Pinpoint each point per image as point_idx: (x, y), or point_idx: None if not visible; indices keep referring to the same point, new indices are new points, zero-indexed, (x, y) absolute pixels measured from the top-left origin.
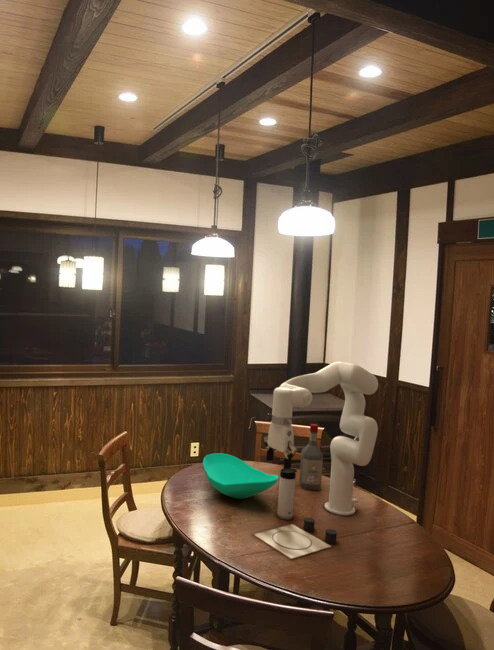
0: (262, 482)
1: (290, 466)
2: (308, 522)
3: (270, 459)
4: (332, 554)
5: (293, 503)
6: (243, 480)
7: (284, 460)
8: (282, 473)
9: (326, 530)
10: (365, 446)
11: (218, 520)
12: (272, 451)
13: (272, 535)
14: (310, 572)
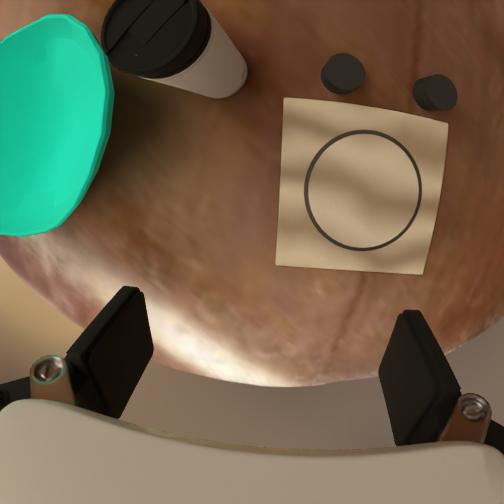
0: (101, 144)
1: (420, 321)
2: (355, 88)
3: (145, 330)
4: (468, 158)
5: (234, 45)
6: (9, 87)
7: (400, 435)
8: (147, 75)
9: (431, 98)
10: None
11: (158, 283)
12: (102, 374)
13: (313, 224)
14: (469, 276)
